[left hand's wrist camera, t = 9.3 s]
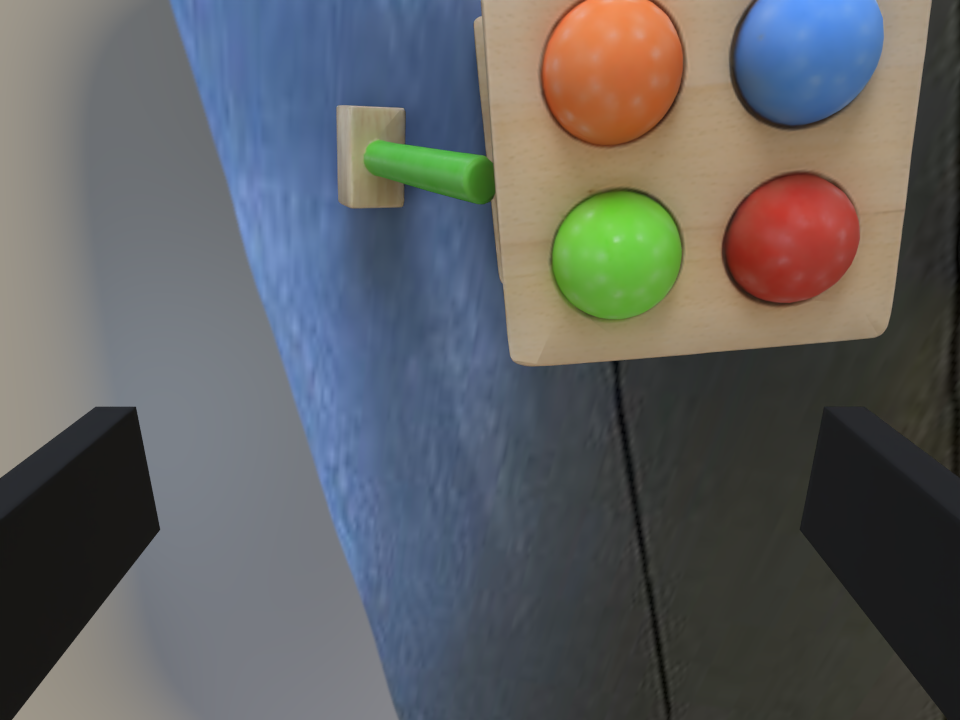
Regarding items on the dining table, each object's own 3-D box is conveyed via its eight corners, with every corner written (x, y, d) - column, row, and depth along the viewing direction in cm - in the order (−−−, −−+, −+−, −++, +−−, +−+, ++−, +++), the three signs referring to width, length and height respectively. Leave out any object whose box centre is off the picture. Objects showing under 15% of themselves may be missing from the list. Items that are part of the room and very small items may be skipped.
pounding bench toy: (359, 292, 40) (273, 415, 23) (317, 35, 35) (171, -40, 19) (736, 256, 40) (926, 358, 23) (746, -11, 35) (998, -133, 18)
